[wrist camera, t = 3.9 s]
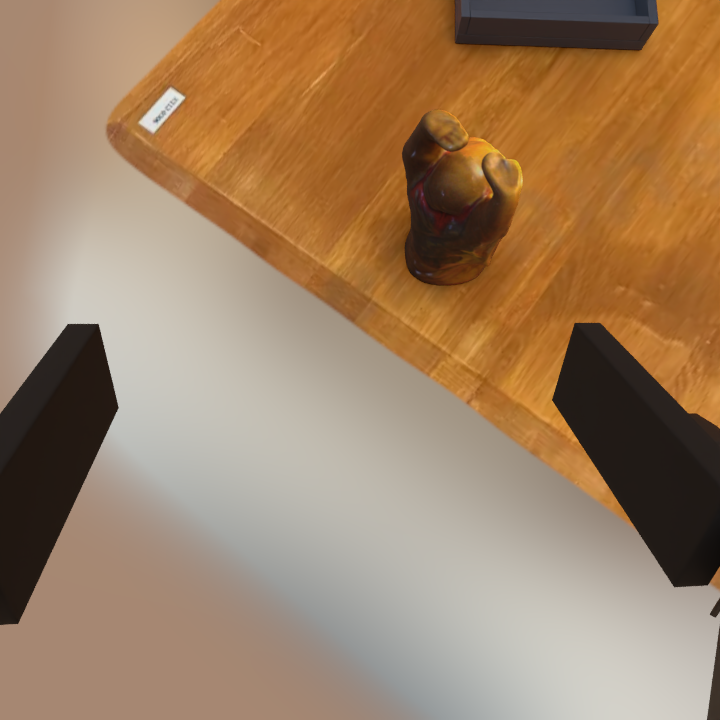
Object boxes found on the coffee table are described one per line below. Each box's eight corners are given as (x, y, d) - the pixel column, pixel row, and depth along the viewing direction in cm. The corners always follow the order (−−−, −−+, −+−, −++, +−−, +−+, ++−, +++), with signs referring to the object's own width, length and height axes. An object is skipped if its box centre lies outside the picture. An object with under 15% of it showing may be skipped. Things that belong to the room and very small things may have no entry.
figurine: (510, 225, 35) (593, 85, 23) (461, 309, 34) (519, 208, 22) (426, 180, 36) (462, 20, 24) (375, 260, 35) (384, 136, 22)
